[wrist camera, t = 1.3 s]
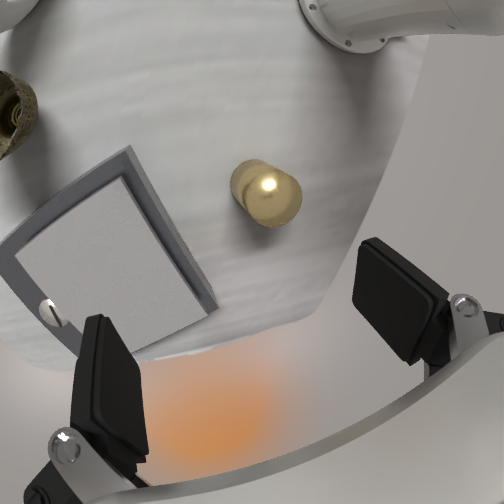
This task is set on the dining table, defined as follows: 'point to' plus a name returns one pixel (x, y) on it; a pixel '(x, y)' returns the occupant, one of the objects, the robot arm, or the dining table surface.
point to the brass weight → (266, 193)
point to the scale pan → (111, 269)
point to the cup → (15, 112)
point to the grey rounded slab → (14, 12)
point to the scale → (119, 164)
